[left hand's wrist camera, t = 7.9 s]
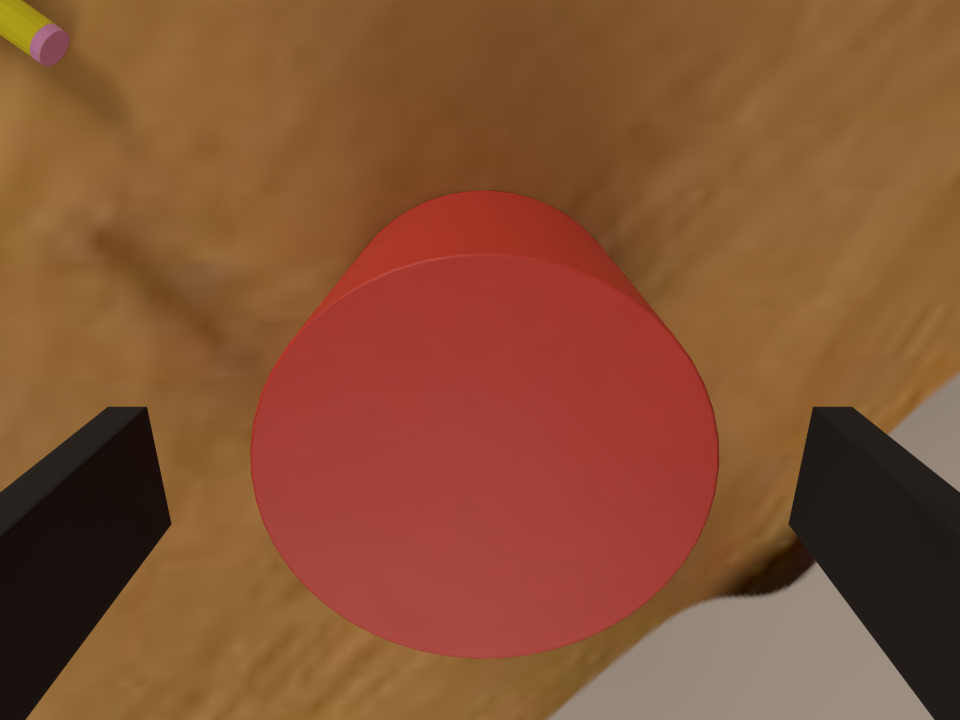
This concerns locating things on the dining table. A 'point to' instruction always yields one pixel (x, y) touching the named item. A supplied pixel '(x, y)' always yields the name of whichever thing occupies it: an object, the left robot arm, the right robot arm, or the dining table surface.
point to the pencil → (32, 32)
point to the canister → (484, 436)
